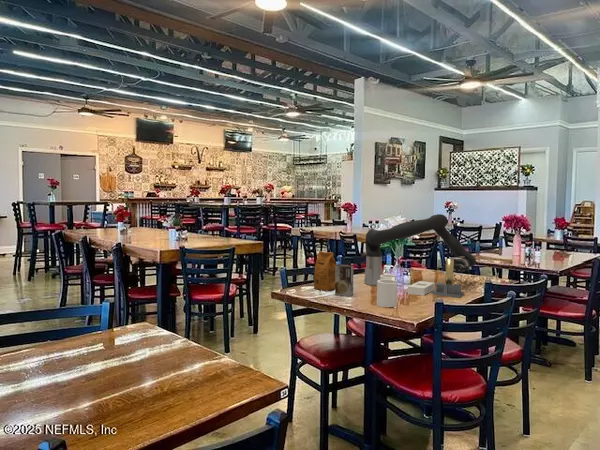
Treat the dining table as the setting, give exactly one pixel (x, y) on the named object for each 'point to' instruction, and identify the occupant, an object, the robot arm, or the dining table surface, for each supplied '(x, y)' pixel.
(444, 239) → the robot arm
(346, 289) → the coffee box
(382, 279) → the grey jar set
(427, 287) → the grey recessed block
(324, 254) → the coffee package
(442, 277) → the dining table surface
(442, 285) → the v block
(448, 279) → the axle
